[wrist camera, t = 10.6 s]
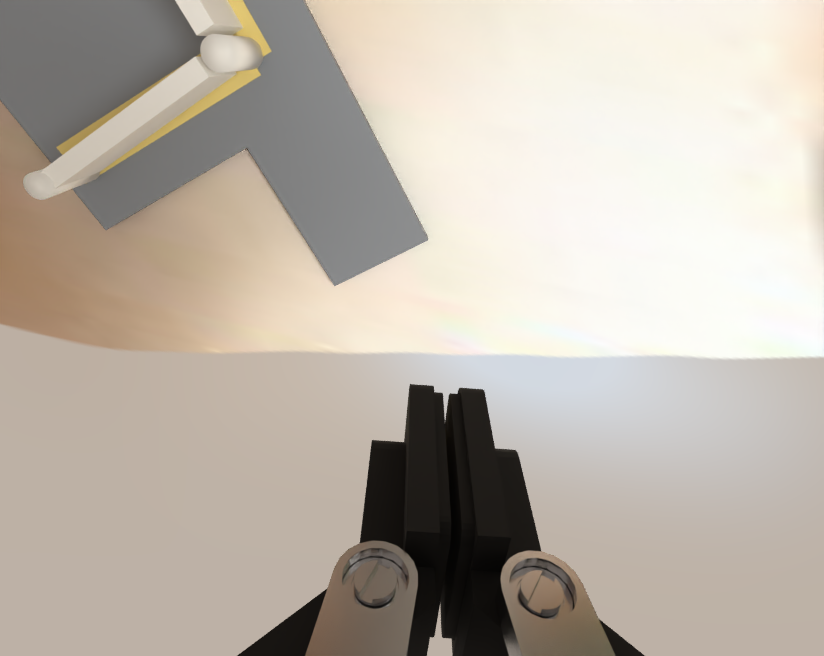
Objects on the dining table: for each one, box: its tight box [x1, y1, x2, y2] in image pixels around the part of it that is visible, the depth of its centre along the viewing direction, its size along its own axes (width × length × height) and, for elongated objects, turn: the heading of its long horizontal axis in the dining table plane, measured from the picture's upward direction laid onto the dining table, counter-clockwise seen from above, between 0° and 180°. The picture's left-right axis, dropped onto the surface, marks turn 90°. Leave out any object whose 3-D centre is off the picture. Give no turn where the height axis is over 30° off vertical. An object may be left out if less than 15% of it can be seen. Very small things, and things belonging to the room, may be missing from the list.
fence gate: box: [23, 57, 237, 200], centre depth 28 cm, size 12×1×5 cm, turn 120°
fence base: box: [0, 0, 428, 286], centre depth 28 cm, size 28×18×6 cm, turn 27°
